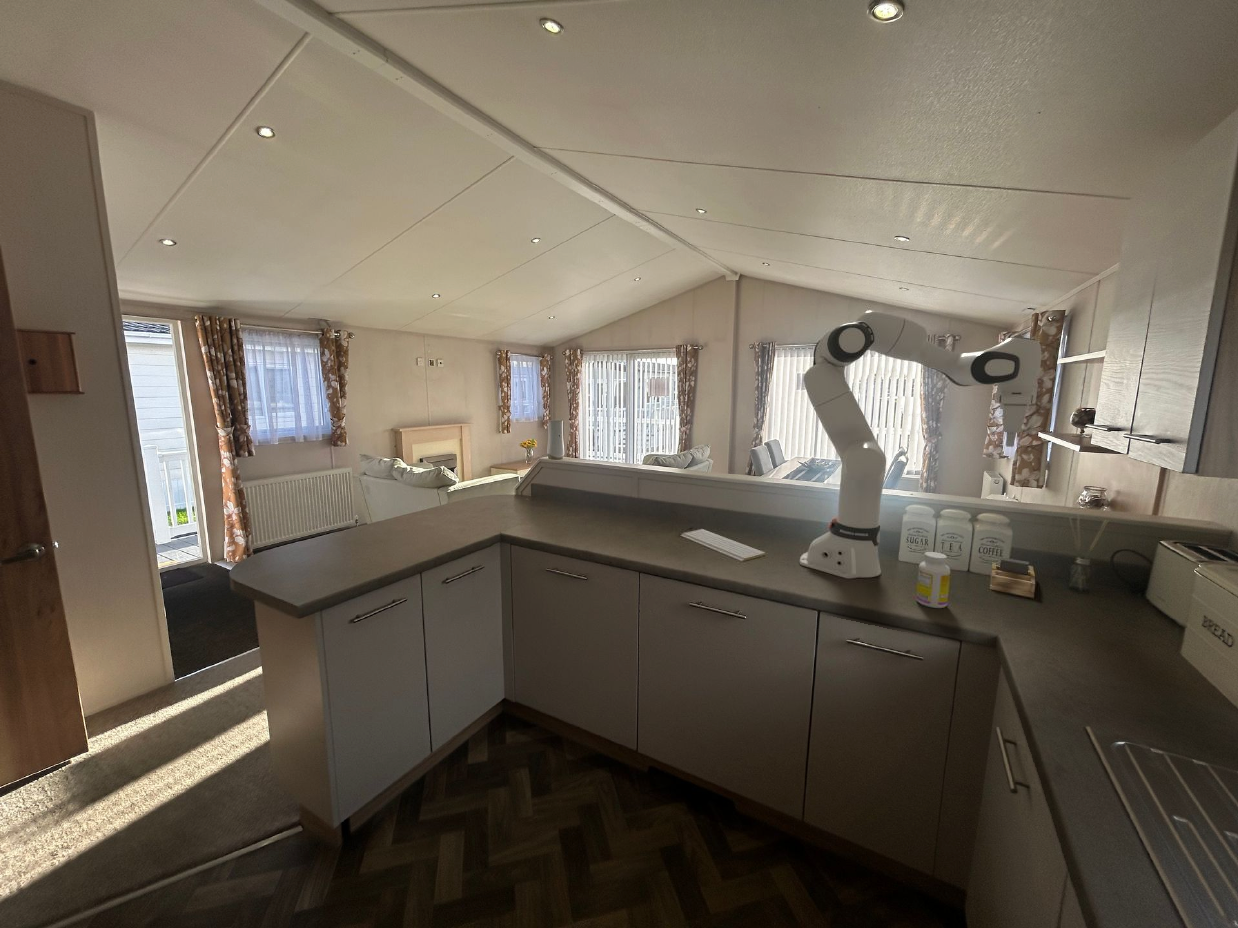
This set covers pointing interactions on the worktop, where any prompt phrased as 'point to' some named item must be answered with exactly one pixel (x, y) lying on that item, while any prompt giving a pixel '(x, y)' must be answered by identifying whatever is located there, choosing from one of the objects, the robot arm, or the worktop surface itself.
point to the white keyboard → (723, 545)
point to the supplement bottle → (933, 581)
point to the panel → (1014, 566)
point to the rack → (1013, 582)
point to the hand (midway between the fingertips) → (1009, 446)
